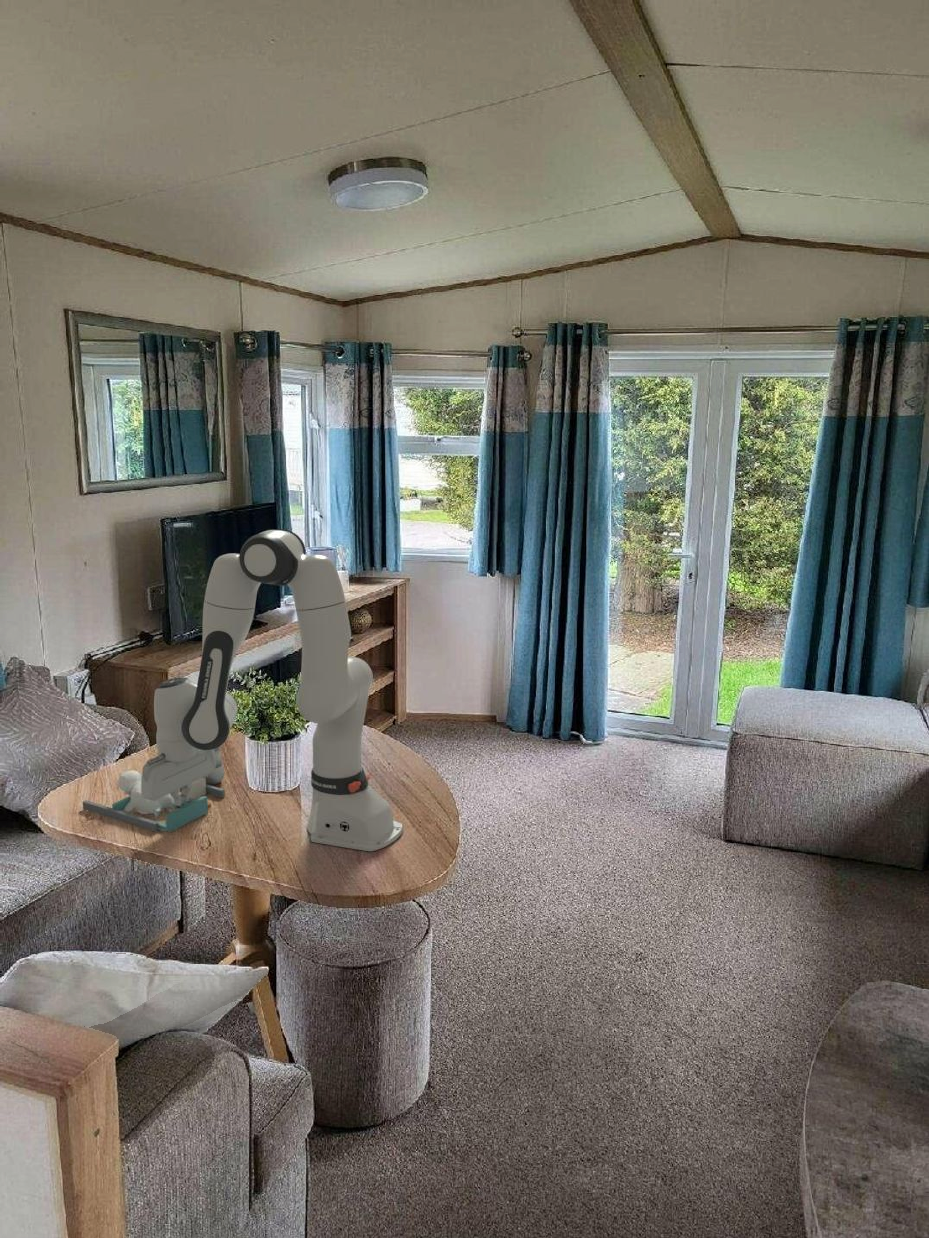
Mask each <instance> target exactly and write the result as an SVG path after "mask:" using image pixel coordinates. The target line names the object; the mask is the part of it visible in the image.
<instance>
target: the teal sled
mask: <svg viewBox="0 0 929 1238" xmlns="http://www.w3.org/2000/svg"><path fill="white" fill-rule="evenodd" d="M130 800H131V795H129V796H127V797H125V798H122V799H120V800H119V801H116V802H112V803H111V808H113V809H116V810H119V811H122V812H123V810H124V808H125V807H126V805H127V804H128V803H129V802H130ZM208 813H209V808H208V796H205V795H202V796H200V797H198V798H196V800H194V801H192V802H190V803H184V804H182V805H180V806H179V808H175V809H174V811H172V812H171V811H170V812H168V813H167V814H165V824H164V823H162V822H158V821H155V820H154V821H155V822H158V823H159V830H162V831H165V832H169V833H172V832H174V831H176V830H177V829H180V828H182V827H183V826H186V825H187V824H189V823H190V822H191V823H192V822H193V821H195V820H197V819H198V818H201V817H202V816H204V815H206V814H208ZM129 814H132V813H131V812H129ZM132 815H135V814H132ZM135 816H137V815H135ZM141 817H142V818H145V817H143V816H141ZM145 819H148V820H150V819H149V818H145Z"/></svg>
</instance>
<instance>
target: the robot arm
mask: <svg viewBox="0 0 929 1238" xmlns="http://www.w3.org/2000/svg"><path fill="white" fill-rule="evenodd" d="M306 553H307V551H306V545H305V543H304V542H303V540H302V538H301V537H300V536H299V535H298V534H297V533H295V532H294V531H292V530H288V529H282V528H281V529H280V528H279V529H267V530H265V531H262V532H259V533H257V534H255V535H252V536H250V537H249V538H247V540H246V541H245V543H243V545H242V546H241V549H240V552H239V553H235V552H234V553H231V552H230V553H226V554H222V555H220V556H218V557H217V558H216V559H215V560H214V562H213V565H212V567H211V570H210V572H209V577H208V580H207V584H206V588H205V592H204V593H205V595H204V600H203V608H202V643H201V647H202V648H201V660H200V666H199V671H198V672H199V673H198V679H197V683H195V682H194V681H193V680H192V679H190V678H189V677H182V676H179V677H173V678H169V679H167V680H164V681H163V682H161V683H160V684H159V685H158V686H157V687H156V689H155V691H154V697H153V699H154V700H153V711H154V712H153V713H154V714H153V715H154V722H155V724H156V728H157V729H156V733H155V734H156V735H155V737H156V750H157V752H156V753H157V756H154V757H153V758H150V759H148V760H146V763H144V765H143V766H142V769H141V772H142V773H141V774H142V780H141V794H142V796H143V797H144V798H145V799H148V800H152V801H155V800H157V799H159V798H161V797H163V796H166V795H168V794H171V796H172V797H173V798H174V804H175V807H176V806H177V807H180V805H182V804H184V803H186V802H188V801H189V793H190V790H191V787H192V782H194V781H196V780H198V779H200V778H202V777H204V776H206V775H208V774H210V773H213V772H214V770H215V767H216V759H215V751H214V749H216V748H218V747H220V746H221V747H222V746H223V744H224V743H225V742H226V741H227V739H228V737H229V733H230V730H231V728H232V726H233V725H234V723H235V720H236V717H237V715H238V710H239V707H238V706H239V705H238V703H237V700H236V699H235V697H234V696H233V695H232V694H231V693H229V692H228V691H227V690H228V684H229V679H230V673H231V667H232V666H233V662H234V660H235V657H236V655H237V654H238V652H239V650H240V648H241V647H242V646H243V643H244V642H245V640H246V638H247V637H248V634H249V631H250V629H251V626H252V623H253V620H254V615H255V611H256V610H255V609H256V602H257V594H258V591H259V588H260V586H261V584H266V585H274V586H279V587H285V586H288V588H289V589H290V590H291V591H290V592H291V594H292V596H293V601H294V607H295V612H296V618H297V623H298V628H299V634H300V641H301V672H300V683H299V687H298V691H297V693H296V698H295V700H296V702H295V703H296V707H297V709H298V710H297V711H298V712H299V713H300V715H301V716H302V717H303V718H304V719H305V720H307V721H309V722H310V723H314V724H316V728H315V730H314V733H313V736H312V768H311V776H310V784H311V787H312V799H311V807H310V808H311V809H310V814H309V817H308V822H307V824H306V829H307V831H308V833H309V834H310V841H311V842H312V843H317V844H322V845H323V844H324V845H328V846H334V847H340V848H347V849H353V850H359V851H365V852H374V851H378V850H380V849H383V848H385V847H387V846H389V845H391V844H393V842H395V841H396V840H398V838H399V837H401V835H402V834H403V831H404V828H403V827H404V826H403V824H402V823H400V822H399V821H396V820H394V815H393V811H392V807H391V806H390V804H389V802H387V801H386V800H385V799H384V798H383V797H382V796H381V795H380V794H379V793H377V791H376V790H375V789H373V788H372V787H371V785H369V780H371V779H372V773H369V774H368V775H366V772H365V770H364V768H363V766H362V739H363V738H362V737H363V730H364V729H363V728H364V724H365V718H366V712H367V706H368V699H369V694H370V689H371V687H372V684H373V681H374V676H373V670H372V669H371V667H370V666H369V664H368V663H367V662H366V661H365V660H364V659H361V658H360V657H355V656H349V648H350V642H351V639H352V629H351V624H350V617H349V614H348V608H347V603H346V598H345V593H344V592H345V591H344V589H343V585H342V582H341V579H340V575H339V572H338V569H337V568H336V564H335V562H334V561H333V560H332V559H331V558H330V557H328V556H326V555H323V554H322V555H321V554H306ZM179 793H180V794H179Z"/></svg>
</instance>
